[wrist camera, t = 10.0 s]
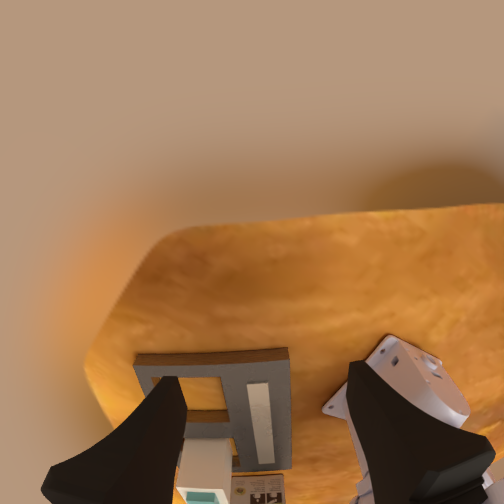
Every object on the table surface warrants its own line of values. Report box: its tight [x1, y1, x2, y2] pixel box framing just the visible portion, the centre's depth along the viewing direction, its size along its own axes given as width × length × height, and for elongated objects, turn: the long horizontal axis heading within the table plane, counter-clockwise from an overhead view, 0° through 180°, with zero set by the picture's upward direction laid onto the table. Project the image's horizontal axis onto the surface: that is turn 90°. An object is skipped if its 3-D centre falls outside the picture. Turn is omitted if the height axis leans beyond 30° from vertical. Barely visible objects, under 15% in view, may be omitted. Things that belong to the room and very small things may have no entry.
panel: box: [133, 347, 292, 472], centre depth 25 cm, size 16×12×2 cm
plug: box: [176, 438, 233, 504], centre depth 24 cm, size 4×4×8 cm
